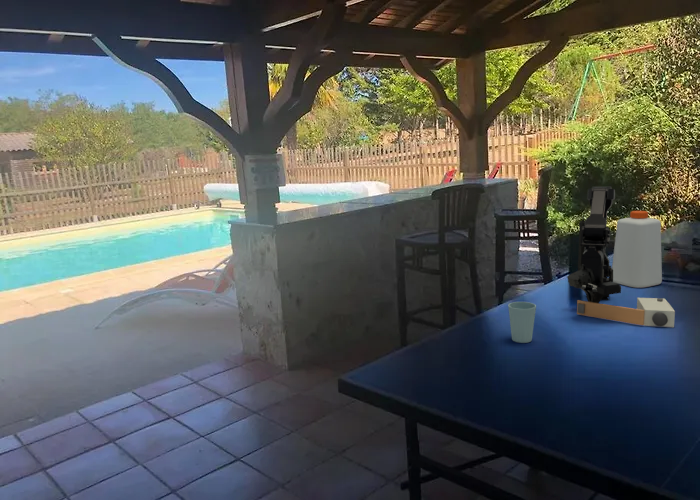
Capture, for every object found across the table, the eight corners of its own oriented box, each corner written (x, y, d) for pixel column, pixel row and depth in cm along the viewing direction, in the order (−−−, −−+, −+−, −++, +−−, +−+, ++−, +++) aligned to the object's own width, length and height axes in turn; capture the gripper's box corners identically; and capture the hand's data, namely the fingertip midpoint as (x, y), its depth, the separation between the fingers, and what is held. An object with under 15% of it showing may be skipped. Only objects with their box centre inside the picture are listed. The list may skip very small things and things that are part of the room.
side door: (642, 326, 172) (642, 311, 171) (575, 314, 185) (576, 301, 184) (643, 324, 173) (644, 310, 172) (577, 313, 186) (578, 299, 186)
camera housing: (644, 327, 172) (645, 309, 171) (636, 312, 186) (637, 295, 185) (674, 328, 170) (676, 310, 168) (664, 313, 184) (665, 296, 183)
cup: (514, 345, 162) (514, 309, 160) (503, 336, 169) (504, 302, 167) (540, 343, 163) (540, 307, 161) (528, 334, 170) (528, 300, 168)
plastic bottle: (605, 281, 226) (608, 211, 221) (632, 276, 232) (635, 208, 227) (639, 289, 213) (642, 215, 207) (666, 284, 219) (671, 211, 214)
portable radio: (596, 272, 241) (598, 214, 237) (600, 276, 235) (603, 216, 231) (576, 273, 242) (578, 214, 237) (581, 276, 236) (583, 216, 231)
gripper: (554, 259, 189) (553, 304, 192) (591, 270, 171) (590, 320, 174) (583, 255, 192) (582, 300, 195) (623, 266, 174) (621, 315, 177)
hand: (593, 309), depth 185 cm, fingers closed
